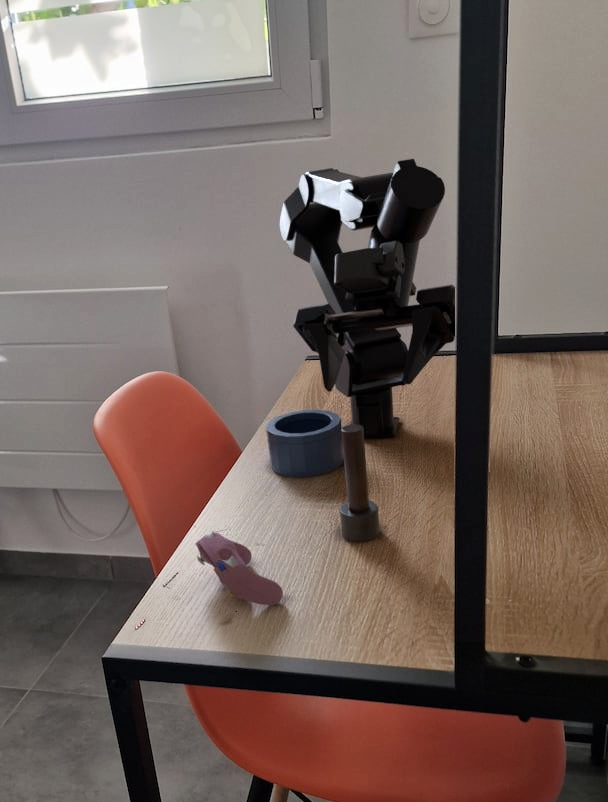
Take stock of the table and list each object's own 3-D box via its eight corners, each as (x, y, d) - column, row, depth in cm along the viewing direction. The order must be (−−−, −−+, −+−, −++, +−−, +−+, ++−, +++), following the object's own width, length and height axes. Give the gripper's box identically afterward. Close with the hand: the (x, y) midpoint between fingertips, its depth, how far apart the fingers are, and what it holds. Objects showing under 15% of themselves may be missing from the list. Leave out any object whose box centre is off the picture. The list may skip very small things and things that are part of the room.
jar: (281, 448, 113) (276, 410, 110) (349, 447, 110) (346, 408, 107) (263, 477, 104) (258, 437, 102) (336, 477, 102) (332, 435, 99)
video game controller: (218, 582, 85) (179, 537, 82) (252, 554, 85) (215, 508, 82) (252, 629, 77) (210, 582, 73) (290, 598, 77) (250, 549, 73)
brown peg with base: (345, 523, 90) (336, 421, 85) (382, 524, 89) (374, 420, 84) (338, 541, 87) (328, 435, 82) (376, 542, 85) (369, 435, 80)
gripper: (285, 236, 92) (255, 353, 87) (446, 202, 82) (424, 332, 77) (327, 296, 101) (302, 407, 95) (478, 272, 91) (460, 394, 85)
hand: (366, 386), depth 88 cm, fingers open, 9 cm apart
